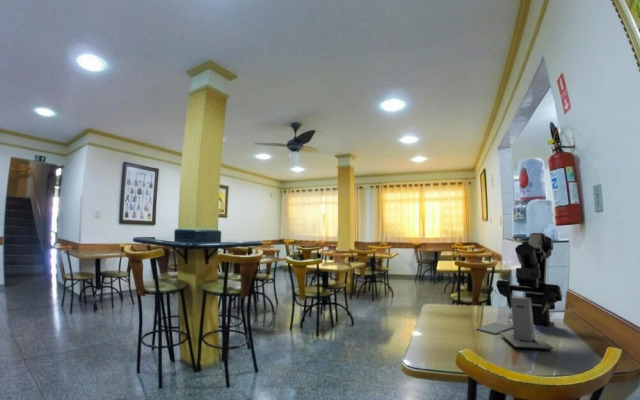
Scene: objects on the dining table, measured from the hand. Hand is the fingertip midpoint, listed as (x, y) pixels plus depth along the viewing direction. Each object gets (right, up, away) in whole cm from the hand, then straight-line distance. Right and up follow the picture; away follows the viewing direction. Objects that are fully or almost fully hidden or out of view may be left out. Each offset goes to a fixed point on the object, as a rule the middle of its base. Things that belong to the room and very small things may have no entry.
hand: (525, 310), depth 104 cm
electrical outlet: (-3, -10, -4) cm, 11 cm away
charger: (-3, -8, -4) cm, 9 cm away
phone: (-3, -12, +12) cm, 17 cm away
